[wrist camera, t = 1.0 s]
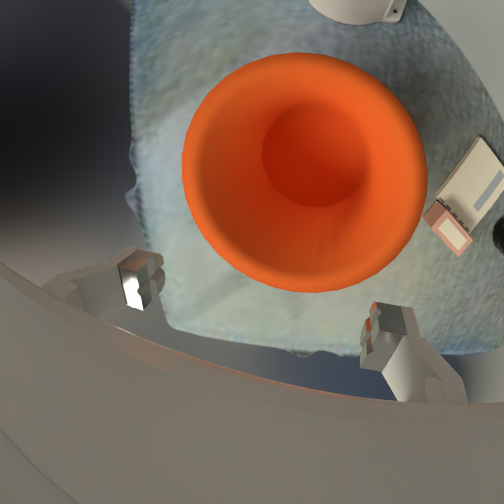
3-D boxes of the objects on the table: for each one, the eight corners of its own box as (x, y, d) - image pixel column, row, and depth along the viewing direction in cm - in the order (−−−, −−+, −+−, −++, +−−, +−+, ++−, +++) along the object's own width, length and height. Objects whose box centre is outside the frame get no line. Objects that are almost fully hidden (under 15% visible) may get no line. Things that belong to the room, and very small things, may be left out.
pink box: (436, 200, 38) (446, 209, 34) (462, 228, 39) (473, 240, 34) (422, 217, 41) (431, 228, 36) (449, 244, 41) (458, 257, 36)
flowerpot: (213, 134, 45) (143, 150, 28) (335, 54, 33) (333, 9, 16) (291, 249, 51) (265, 319, 34) (414, 187, 39) (459, 235, 22)
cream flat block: (477, 136, 31) (481, 137, 30) (507, 176, 31) (511, 178, 30) (433, 194, 38) (436, 197, 37) (466, 230, 39) (469, 234, 37)
